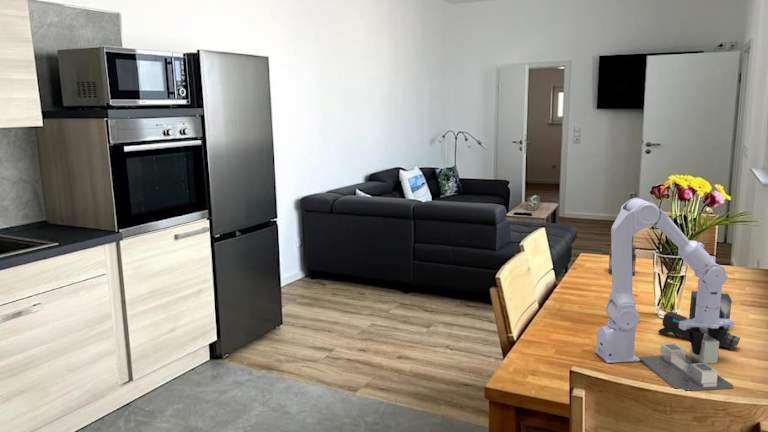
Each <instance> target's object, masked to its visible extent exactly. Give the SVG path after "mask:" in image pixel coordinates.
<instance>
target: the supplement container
mask: <svg viewBox="0 0 768 432" xmlns="http://www.w3.org/2000/svg"><path fill="white" fill-rule="evenodd" d="M636 247H637V246H635V245H633V244H632V276H634V275H635V274H636V262H637V254H636ZM608 255H609V257H608V261H609V262H608V273H609V274H610V275H612V251H611V250H610V251H609V254H608Z"/></svg>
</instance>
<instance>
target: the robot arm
mask: <svg viewBox="0 0 768 432" xmlns="http://www.w3.org/2000/svg"><path fill="white" fill-rule="evenodd" d="M649 227H654V228H657V229H659V230H660V231H661V232H662V233H663V234H664V235H665V236H666V237H667V238H668V239H669V240H670V241H671V242H672V243H673V244H674V245H675V246H676V247H677V249H678V251H677V254H678V256H679V257H680V258H681V259H682V260H683V261H684V262H685V263H686V264H687V266H688V267H689V268H690V269H691V271H693V272H694V276H695V277H697V278H698V279H697V288H696V291H697V299H696V311H695V318H693V319H689V318H688V319H689V320H684V321H679V328H680V329H682V330H686V332H687V334H688V336H689V338H690V339H689V341H690V346H691V345H692V351H693V353H695V354H696V355H699V354H700V350H701V342H702V339H703V337H704V333H703V332H701V330H700V328H707V329H708V336H710V337H712V338H714V339H715V340H717V341H719V344H720V342H721V340H722V339H723V338H724V336H725V335H726V334H727V330H725V329H724V327H729V329H733V328H734V325H735V322H734V320H733V319H720V318H719V313H720V302H721V293H722V290H723V285H724V284H725V283H726V282H727V280H728V277H729V276H728V275H727V271H726V268H724V267H723V266H722V265H720V264H718V263H716V261H717V258H716V257H715V256H714V255H713V256H712V255H710V254H709V253H708V251H706V250H705V249H704V248H705V245H704V244H703V243H702V242H700V241H699V242H698V241H697V240H689V238H688V237H687V236H686V235H685V234H684V232H682V230H681V229H680V228H679V227H678V226H677V224H676V223H674V221H673V220H672V219H671V218H670V217H669V215H668V214H667V213H666V212H664V211H663V210H662V209H661V208H659V207H658V206H657V204H655V203H653V202H650V201H647V200H644V199H643V198H641V197H633V198H630V199H629V200H627V201H626V202H624V203H623V205H621V207H620V211H619V214H618V215H617V217H616V218H615V220H614V222H613V224H612V226H611V227H610V228H611V229H610V237H611V242H610V243H611V244H610V252H611V251H612V274H611V292H610V293H609V295H608V302H607V304H606V306H605V312H606V314H607V316H608V320H607V324H606V325H603V326H599V327H598V329H597V332H596V340H595V341H596V344H595V350H594V353H596V354H597V355H598V356H599V357H600V358H601V359H602V360H603V361H604V362H605V363H607V364H610V363H612V364H613V363H614V364H615V363H631V362H640V359H639V358H638V357H639V356H637V355H635V342H636V327H637V326H639V325H638V324H639V322H640V315H639V313H638V311H637V307H636V301H635V297H634V294H633V275H632V245H633V240H632V239H633V237H634V236H635V235H637V233H639V231H642V230H645V229H647V228H649Z"/></svg>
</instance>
